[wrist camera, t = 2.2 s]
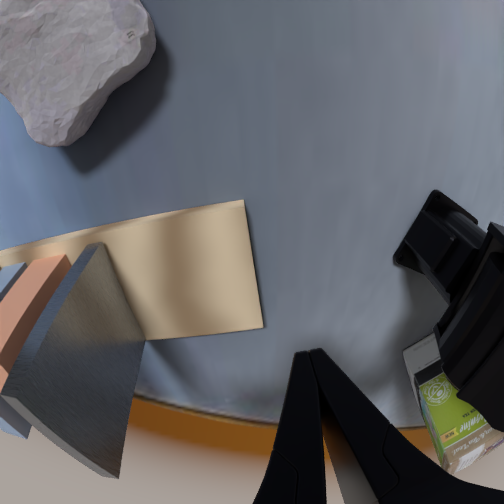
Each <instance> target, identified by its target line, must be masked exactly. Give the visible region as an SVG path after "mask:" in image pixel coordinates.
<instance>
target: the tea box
mask: <svg viewBox="0 0 504 504" xmlns="http://www.w3.org/2000/svg"><path fill="white" fill-rule="evenodd" d="M403 356H404V360H405V364H406V367H407V371H408V375H409V378H410V381H411V385H412V389H413V392H414V396H415V399H416V402H417V404H418V407H419V409H420V411H421V414H422V417H423V419H424V422H425V424H426V426H427V429H428V432H429V434H430V437H431V440H432V442H433V445H434V448H435V450H436V453H437V456H438V459H439V461H440V465H441V467H442V468H443V469H444V470H445V471H447V472H448V473H449V474H451V475H452V474H454V473H455V472H458V471H460V470H462V469H463V468H465V467H467V466H469V465H471V464H472V463H474V462H476V461H477V460H479V459H481V458H482V457H484V456H485V455H487V454H488V453H490V452H491V451H492V450H494V449H495V448H497V447H498V446H499V445H500V444H502V443H503V442H504V433H503V432H501V431H498V430H495V429H493V428H492V427H491V426H490V425H489V424H488V422H487V421H486V420H485V419H484V417H483V416H482V415H481V414H480V413H479V412H478V411H477V410H476V409H475V408H474V407H472V406H471V405H470V404H468V403H467V402H465V401H463V400H460V399H458V398H457V397H456V393H457V392H458V390H456V389H455V388H454V387H453V386H452V385H451V384H450V382H449V381H448V380H447V378H446V376H445V374H444V372H443V371H442V368H441V365H442V362H441V358H440V354H439V349H438V345H437V342H436V338H435V334H434V333H432V334H431V335H429V336H428V337H426V338H424V339H423V340H421V341H419V342H417V343H416V344H414V345H412V346H411V347H409V348H407V349H406V350H404V351H403Z"/></svg>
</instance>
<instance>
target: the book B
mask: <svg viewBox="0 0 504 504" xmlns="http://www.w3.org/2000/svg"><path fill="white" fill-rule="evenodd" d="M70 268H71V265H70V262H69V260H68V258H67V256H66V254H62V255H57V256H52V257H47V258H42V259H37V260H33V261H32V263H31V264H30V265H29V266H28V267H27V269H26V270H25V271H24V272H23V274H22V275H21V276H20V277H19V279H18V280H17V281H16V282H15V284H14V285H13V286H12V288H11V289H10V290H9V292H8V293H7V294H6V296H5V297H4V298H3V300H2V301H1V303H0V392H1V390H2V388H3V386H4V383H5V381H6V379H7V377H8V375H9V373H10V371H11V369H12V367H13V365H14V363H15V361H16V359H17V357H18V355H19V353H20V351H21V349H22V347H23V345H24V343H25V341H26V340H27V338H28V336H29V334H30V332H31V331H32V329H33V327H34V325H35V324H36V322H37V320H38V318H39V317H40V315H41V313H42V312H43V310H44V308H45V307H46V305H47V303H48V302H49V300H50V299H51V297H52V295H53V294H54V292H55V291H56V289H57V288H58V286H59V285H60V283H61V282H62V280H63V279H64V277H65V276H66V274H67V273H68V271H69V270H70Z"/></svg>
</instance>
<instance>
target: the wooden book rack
mask: <svg viewBox="0 0 504 504" xmlns="http://www.w3.org/2000/svg"><path fill="white" fill-rule="evenodd" d="M97 242H103V245H104V247H105V250H106V252H107V255H108V257H109V260H110V262H111V265H112V267H113V269H114V272H115V274H116V276H117V279H118V281H119V283H120V286H121V288H122V290H123V292H124V294H125V297H126V299H127V301H128V303H129V305H130V307H131V309H132V311H133V314H134V316H135V318H136V320H137V322H138V324H139V326H140V328H141V330H142V332H143V334H144V335H145V337H146V340H155V339H168V338H179V337H190V336H199V335H209V334H218V333H226V332H234V331H242V330H249V329H256V328H263V321H262V314H261V308H260V301H259V295H258V288H257V282H256V276H255V269H254V263H253V257H252V250H251V244H250V237H249V231H248V225H247V218H246V212H245V206H244V200H237V201H231V202H225V203H218V204H212V205H206V206H200V207H195V208H189V209H183V210H178V211H172V212H167V213H161V214H156V215H151V216H146V217H141V218H136V219H131V220H126V221H121V222H116V223H111V224H107V225H102V226H98V227H93V228H89V229H84V230H80V231H75V232H71V233H67V234H63V235H59V236H54V237H50V238H46V239H42V240H38V241H35V242H31V243H27V244H23V245H19V246H16V247H12V248H8V249H5V250H1V251H0V271H1V270H2V268H3V267H5V266H9V265H14V264H18V263H23V262H26V264H27V266H29V265H30V264H31V263H32V261H33V260H37V259H42V258H47V257H52V256H57V255H62V254H66V256H67V258H68V260H69V262H70V265H71V267H72V265H73V264H74V262H75V261H76V260H77V258H78V257H79V255H80V254H81V253H82V251H83V250H84V248H85V247H86V246H87V244H92V243H97Z"/></svg>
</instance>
